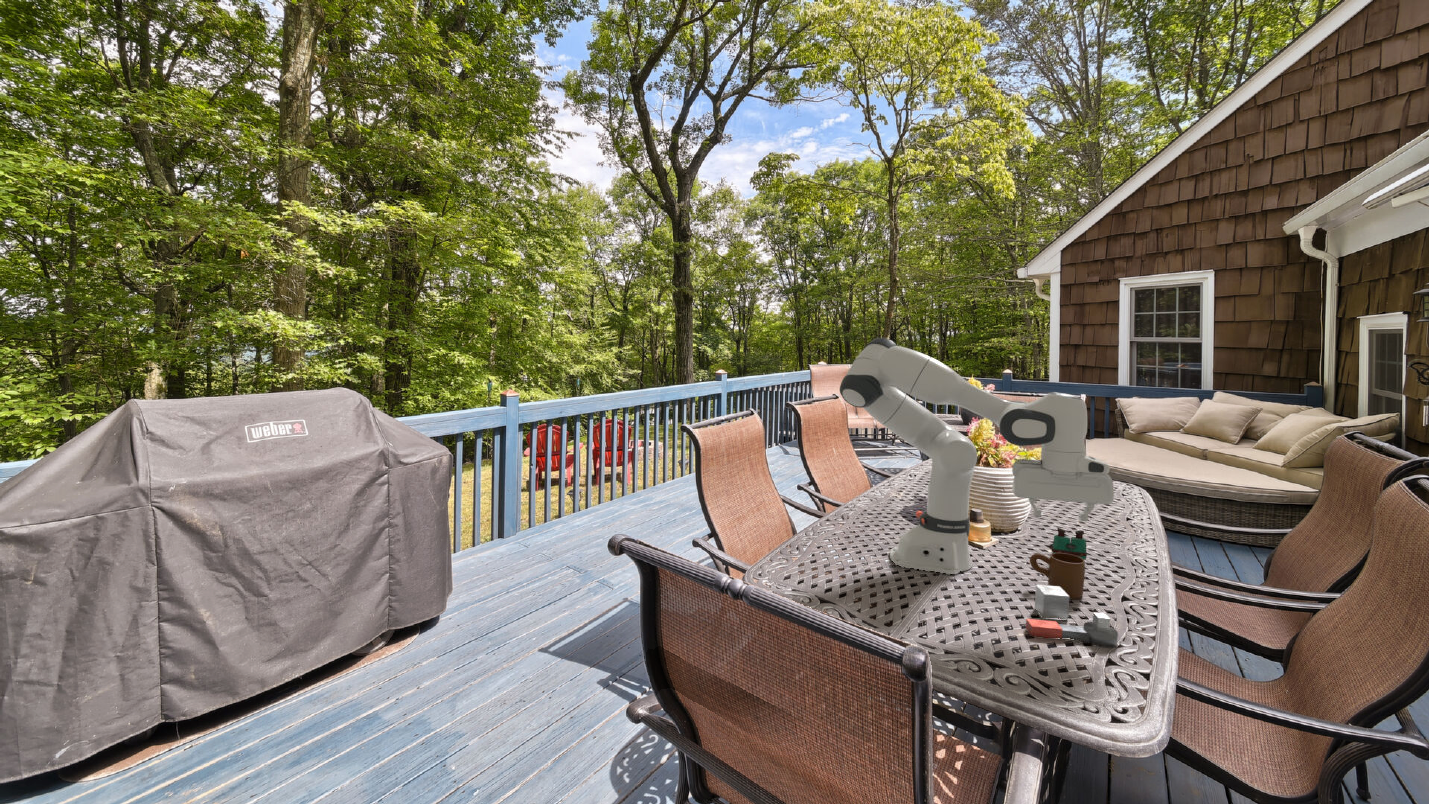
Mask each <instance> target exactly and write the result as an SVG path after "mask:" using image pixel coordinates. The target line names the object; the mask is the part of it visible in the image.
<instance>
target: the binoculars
mask: <svg viewBox="0 0 1429 804" xmlns="http://www.w3.org/2000/svg"><path fill="white" fill-rule="evenodd" d="M1056 529H1057V530H1056V531H1057V534H1054V537H1053V543H1051V544H1049V545H1048V549H1050V550H1051V554H1053V553H1067V554H1072V555H1075V556H1078V557H1080V558H1082V559H1083V560H1084V561H1085V560H1087V556H1088V553H1087V539H1086V538H1084V535H1085V532H1084V531H1085V530H1076V531H1075V532H1074V534H1075V536H1071V537H1069V536H1067V535H1065V533H1066V532H1067V531H1066V530H1065V529H1063V528H1061V527H1057V528H1056Z"/></svg>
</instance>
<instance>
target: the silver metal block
mask: <svg viewBox="0 0 1429 804" xmlns="http://www.w3.org/2000/svg"><path fill="white" fill-rule="evenodd" d="M1034 596H1035V597H1034V610H1035V609H1037V611H1038V612H1039V613H1040V615H1041V616H1042V617H1041V616H1040V615H1039V616H1040V617H1041V618H1058V619H1059V618H1060V619H1066V620H1069V619H1068V618H1069V606H1070V605H1069V604H1070V599H1069V595H1068V594H1067V593H1066V592H1065V591H1064V590H1063V589H1062V588H1061V587H1059V586H1048V585H1045V584H1035V595H1034ZM1037 611H1036V612H1037ZM1038 612H1037V613H1038Z"/></svg>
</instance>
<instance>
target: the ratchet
mask: <svg viewBox="0 0 1429 804" xmlns="http://www.w3.org/2000/svg"><path fill="white" fill-rule="evenodd" d="M1092 615H1093V616H1092V621H1086V622H1084V624H1083V626H1082V625H1071V624H1062V623H1061V624H1060V623H1058V622H1057V620H1047V619H1033V618H1026V619H1025V630H1026V629H1027V630H1028V631H1027V630H1026V631H1027V633H1028V632H1029V633H1030V634H1029V633H1028V634H1029V636H1030V635H1031V636H1036V637H1035V638H1038V637H1043V638H1042V639H1048V638H1060V639H1062V638H1070V639H1074V640H1078V641H1077V642H1086V643H1090V644H1093V645H1095V646H1097V647H1102V648H1108V649H1109V648H1110V649H1112V648H1115V647H1117V645H1118V636H1119V632H1118V630H1116V629H1115V628H1114V627H1112V626H1110V625H1111V624H1110V623H1111V618H1110V617H1109V616H1108V615H1107V614H1106V613H1103V612H1102V613H1101V612H1093V614H1092ZM1031 636H1030V637H1031ZM1062 640H1063V639H1062ZM1074 640H1073V641H1074Z"/></svg>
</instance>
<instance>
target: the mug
mask: <svg viewBox="0 0 1429 804" xmlns="http://www.w3.org/2000/svg"><path fill="white" fill-rule="evenodd" d="M1037 560H1041V561H1042V562H1044V563H1045V564H1048V568H1046V567H1045V566H1041V565H1040V564H1038V562H1037ZM1029 563H1030V566H1031V568H1032V569H1033V570H1034V571H1036V572H1037V573H1040V574H1043V576H1045V577H1046V578H1047V580H1048V582H1047V584H1048V585H1047V586H1059V587H1061V588H1062V589H1063V590H1064V591H1065V592H1066V593H1067V594H1068V595H1069V598H1072V599H1071V600H1078V598H1079V599H1081V598H1082V597H1083V595H1084V585H1085V572H1086V564H1085V563H1086V561H1085V560H1083V559H1082V558H1080V557H1078V556H1075V555H1072V554H1067V553H1053V554H1052V553H1051V554H1050V557H1049V556H1047V555H1045V554H1044V553H1034V554H1032V555H1031V556H1030V558H1029Z"/></svg>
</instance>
